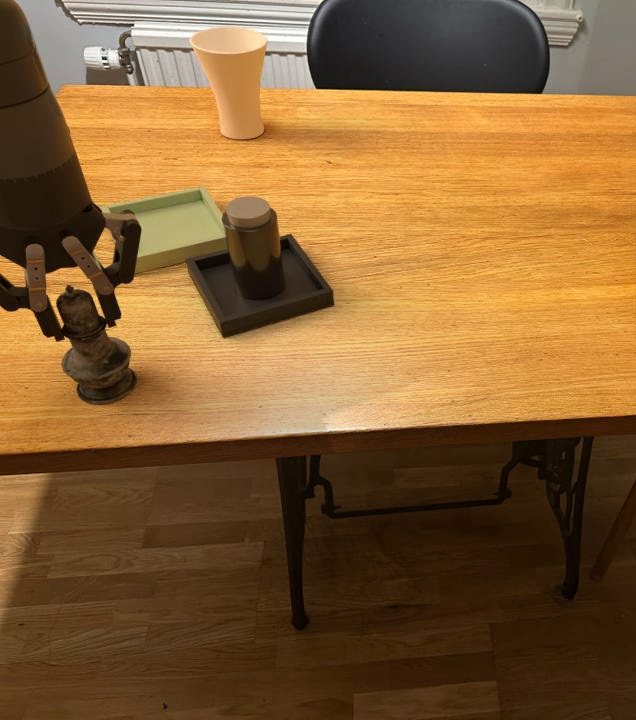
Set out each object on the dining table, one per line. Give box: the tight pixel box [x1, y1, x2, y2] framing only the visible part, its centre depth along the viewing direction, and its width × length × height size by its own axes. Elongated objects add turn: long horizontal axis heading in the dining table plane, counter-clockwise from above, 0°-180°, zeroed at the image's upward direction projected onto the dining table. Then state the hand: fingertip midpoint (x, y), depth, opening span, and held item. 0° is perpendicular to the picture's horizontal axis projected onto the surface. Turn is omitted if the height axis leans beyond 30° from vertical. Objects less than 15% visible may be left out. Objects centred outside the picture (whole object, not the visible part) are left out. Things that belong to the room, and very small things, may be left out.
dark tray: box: [185, 233, 335, 338], centre depth 79 cm, size 13×13×2 cm
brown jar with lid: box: [222, 195, 285, 300], centre depth 76 cm, size 6×6×10 cm
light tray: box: [100, 185, 227, 275], centre depth 85 cm, size 13×13×2 cm
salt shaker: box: [55, 284, 138, 405], centre depth 63 cm, size 6×6×12 cm
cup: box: [189, 26, 269, 140], centre depth 103 cm, size 10×10×14 cm
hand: (85, 327), depth 62 cm, fingers closed on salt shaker, 3 cm apart
